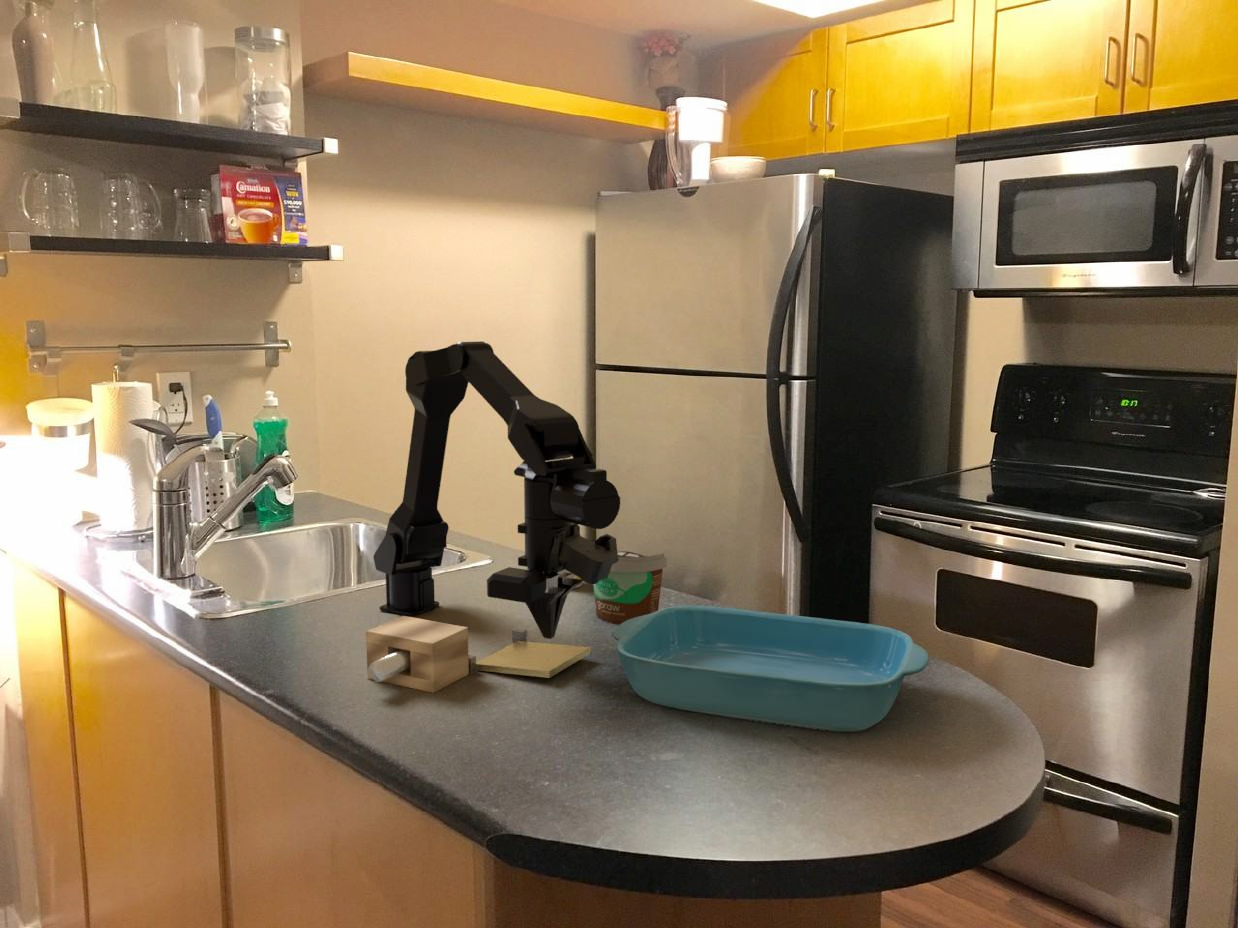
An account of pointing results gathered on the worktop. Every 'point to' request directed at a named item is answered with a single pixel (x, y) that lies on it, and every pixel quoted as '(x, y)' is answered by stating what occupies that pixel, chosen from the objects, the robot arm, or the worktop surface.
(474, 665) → the keeper bracket
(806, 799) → the worktop surface
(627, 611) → the food container
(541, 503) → the robot arm
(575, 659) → the plate
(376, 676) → the hitch pin
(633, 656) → the casserole dish
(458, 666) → the block
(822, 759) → the worktop surface
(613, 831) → the worktop surface
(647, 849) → the worktop surface
